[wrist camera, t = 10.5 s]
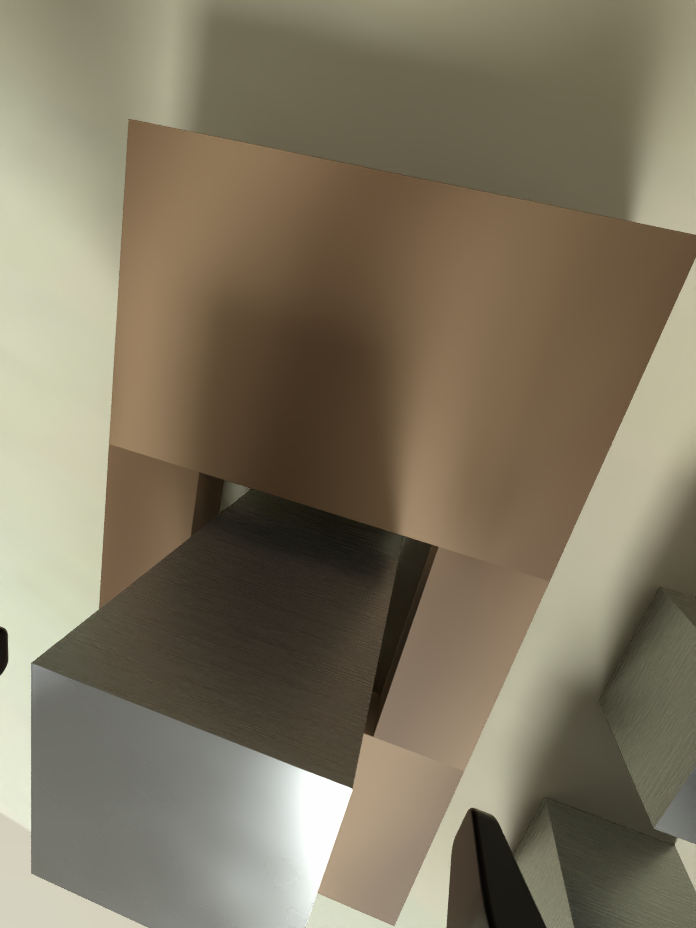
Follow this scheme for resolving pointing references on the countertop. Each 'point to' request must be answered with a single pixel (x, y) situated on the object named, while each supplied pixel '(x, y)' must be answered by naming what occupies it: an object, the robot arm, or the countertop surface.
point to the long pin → (213, 721)
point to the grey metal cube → (659, 712)
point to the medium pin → (602, 873)
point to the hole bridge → (377, 413)
